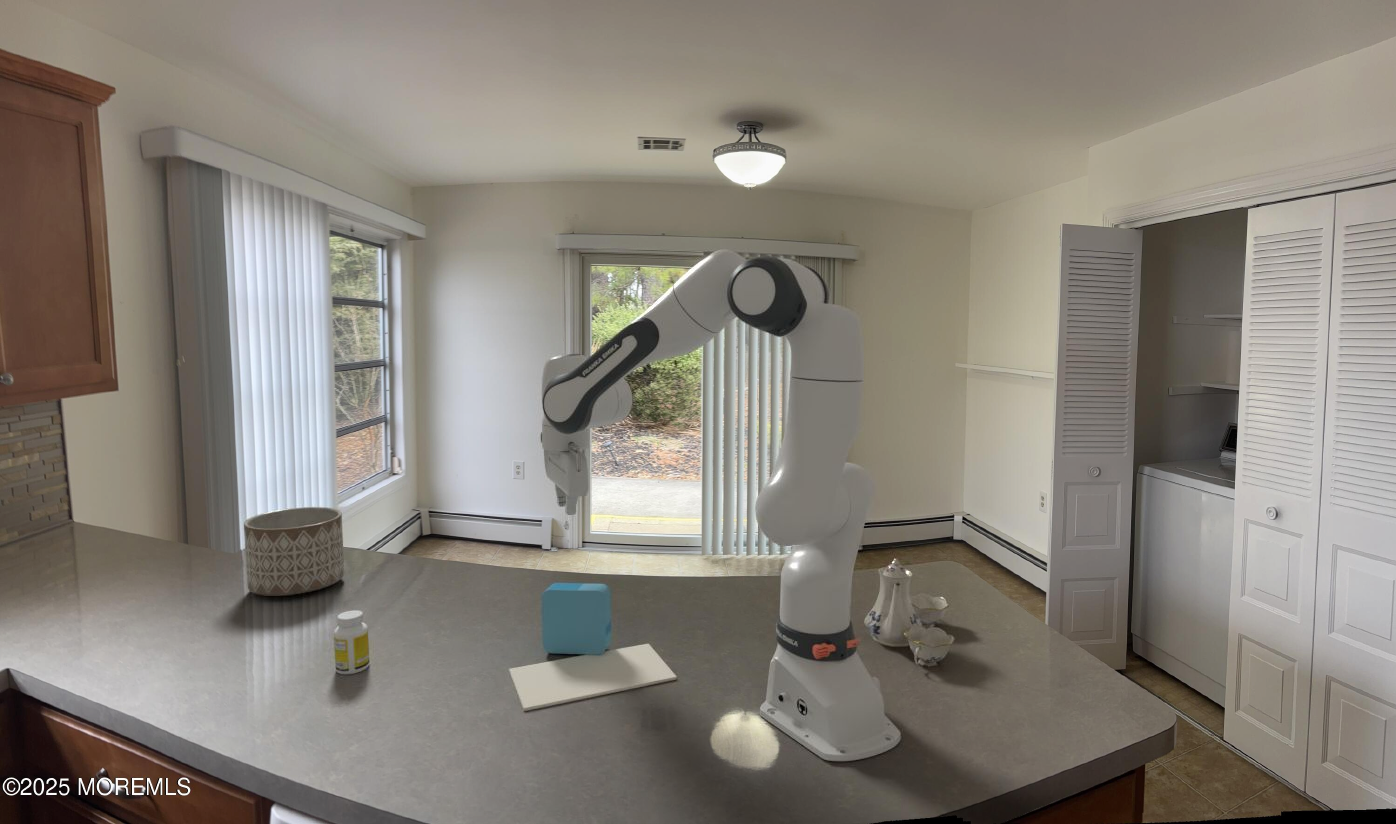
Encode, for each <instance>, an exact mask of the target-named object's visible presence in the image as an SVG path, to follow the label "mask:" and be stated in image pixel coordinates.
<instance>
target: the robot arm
mask: <svg viewBox="0 0 1396 824" xmlns="http://www.w3.org/2000/svg"><path fill="white" fill-rule="evenodd" d="M829 300H830V295H829V289H828V286H827V283H826V281H825V280H824V278H823V277H822V275H820V274H819V273H818V272H817V271H816V270H815V269H813V268H811V267H810V266H806V265H803V264H800V263H798V262H797V261H795V260H792V259H788V258H782V257H774V256H772V255H771V256H770V255H762V256H756V257H752V258H750V259H748V260H746V259H745V258H744V257H743V256H742V255H740V254H739V253H737V252H735V251H734V250H733V251H732V250H730V249H719V250H716V251H713V252H712V253H711V254H709V255H707V256H706V257H704V258H703V259H701V260H700V261H698V262H697V263H696V264H694V265H693V266H692V267H691V268H690V269H689V270H687V271H686V272H685V273H684V274H683V275H682V276H681V277H680V278H679V279H678V280H676V281H675V283H674V284H672V286H670V287H669V288H668V290H666V291H665V292H664V293H663V294H662V295H661V296H660V297H659V298H658V299H657V300H656V301H655V302H654V303H652V305H650V306H649V307H648V308H647V309H645V311H644V312H642V313H641V314H640V315H638V317H636V318H634V319H633V320H632V321H631V322H630V323H629V324H628V325H626V326H625V327H623V329H620V331H618V332H617V333H616V334H614V335H613V336H612V337H611V338H610V339H609V340H608V341H606V342H605V343H604V344H603V345H602V346H601V347H600V348H598V349H597V350H596V351H595V352H594V353H593V354H592V355H590V356H588V357H587V356H585V355H584V354H581V353H567V354H559V355H554V356H552V357H550V358H548V359H547V360H546V361H545V363H544V366H543V370H542V376H541V377H542V378H541V403H542V404H541V405H542V411H543V417H542V420H541V432H540V438H539V439H540V443H541V444H542V446H541V447H542V449H543V458H544V469H545V473H546V477H547V478H548V480H550V481H551V482H552V483H553V484H554V490H555V495H556V505H558V507H561V508H563V507H564V513H565V514H566V515H568V516H573V515H576V514H577V504H578V500H579V497H580V498H581V497H586V496H587V495H588V493H589V472H588V471H589V467H588V460H587V456H586V455H585V454H584V453H583V451H584V450H587V449H589V448H590V429H593V428H600V427H604V426H609V425H614V424H617V423H621V422H623V421H624V420H626V419H627V417H629V415H630V414H631V412H632V409H633V406H634V405H633V404H634V393H633V390H632V387H631V386H630V383H629V382H628V380H626V377H627V376H628V375H630V374H631V373H633V372H634V371H635V370H637V369H639V368H642V367H644V366H645V365H648V364H652V363H655V362H658V361H663V360H667V359H672V358H676V357H683V356H685V355H689V354H692V353H693V352H694V351H697V350H699V349H700V348H702V347H703V346H705V345H707V344H708V343H709V342H710V341H712V340H713V339H714V338H715V337H716V336H717V335H718V334H720V332H722V331H723V330H724V329H725V328H726V327H727V326H728V325H729V324H730V323H731V322H732V321H733V320H735V319H736V318H738V319H739V321H742V322H743V323H745V324H746V325H748V326H750V327H751V328H754V329H757V330H759V331H762V332H765V333H767V334H769V335H772V336H775V337H778V338H779V337H780V338H781V337H785V338H786V340H787V341H788V343H789V347H790V359H791V360H790V372H789V373H790V374H789V387H788V388H789V390H788V400H787V401H788V403H787V404H788V405H787V414H786V415H787V416H786V424H785V430H784V435H783V438H782V442H781V445H780V449H779V451H778V455H777V459H776V461H775V464H774V467H773V470H772V472H771V475H770V476H769V479H768V481H767V482H766V484H765V485H764V487H763V488H761V490H760V492H759V493H758V496H757V497H756V500H755V507H754V512H755V513H754V515H755V519H756V522H757V525H758V527H759V529H760V531H761V532H762V534H763V535H764V536H765V537H766V538H767V539H768V540H769V541H771V542H772V543H774V544H775V545H779V546H782V547H792V548H791V550H790V553H789V555H788V556H787V558H786V560H785V562H784V564H783V566H782V568H781V573H780V594H779V595H780V598H779V599H780V600H779V601H780V602H779V613H778V616H777V617H776V618H777V619H776V624H775V631H776V634H775V635H776V641H777V646H776V649H775V652H774V653H773V657H772V658H771V660H770V663H769V671H768V679H767V685H766V687H767V689H766V697H765V701H764V702H763V703H762V704H761V705H760V708H759V716H760V717H762V718H763V719H765V720H766V721H768V722H769V723H770V724H772V725H773V726H775V727H776V728H778V729H779V730H780V731H782V732H783V733H784V734H786V735H787V736H788V737H790V738H792V739H793V740H794V741H796V742H798V743H799V744H800V745H803V746H804V747H805V748H806V749H808V750H809V751H811V752H812V753H813V754H815V755H816V756H817V757H819V758H821V759H822V760H826V761H829V762H830V761H832V762H851V761H856V760H862V759H863V760H864V759H866V758H867V759H868V758H870V757H874V756H877V755H879V754H882V753H883V754H884V753H885V752H887V751H889V750H892V749H893V748H894V747H896V746H897V745H898V744H899V742H900V741H901V740H902V736H901V735H902V733H901V731H900V729H898V728H897V726H896V725H895V724H894V723H893V722H892V721H891V719H889V718H888V716H886V714H885V702H884V697H883V694H882V693H881V689H882V688H881V687H882V686H881V682H880V680H879V679H878V678H877V677H876V676H871V674H870V672H869V671H868V669H867V668H866V666H865V664H864V662H863V661H862V659H861V658H860V655H859V654H858V651H857V649H858V647H860V646H861V644H859V643H858V642H860V641H861V638H856V636H855V634H856V633H855V630H854V628H853V622H852V621H851V603H852V584H853V583H852V582H853V576H854V569H855V564H856V561H857V555H858V551H859V547H860V545H861V544H860V543H861V541H862V536H863V531H864V527H865V524H866V522H867V518H868V516H869V514H870V511H871V509H872V508H873V506H874V504H875V501H876V496H877V492H876V485H875V483H874V480H873V478H872V476H871V475H870V473H869V472H868V471H867V470H866V469H865V468H864V467H862V466H861V465H859V464H856V463H853V462H848V461H847V458H848V455H849V453H850V449H851V447H852V445H853V444H854V441H855V440H856V438H857V437H858V434H859V433H860V432H859V431H860V428H861V417H862V416H861V415H862V403H863V402H862V401H863V386H864V374H865V373H864V371H865V353H864V352H865V351H864V338H863V336H864V335H863V331H862V330H863V329H862V323H861V320H860V317H859V316H858V315H857V314H856V313H855V312H854V311H853V310H851V309H849V308H848V307H845V306H843V305H839V304H834V303H833V304H832V303H829Z"/></svg>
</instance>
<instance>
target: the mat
mask: <svg viewBox="0 0 1396 824" xmlns="http://www.w3.org/2000/svg"><path fill="white" fill-rule="evenodd" d="M508 672H509V675H510V677H511V681H512V683H513V685H514V688H515V690H516V691H515V692H516V693H517V696H518V699H519V702H520V704H521V707H522V709H523V712H526V711H531V710H537V709H543V708H546V707H549V706H550V707H551V706H556V705H560V704H566V703H570V702H574V701H579V700H584V699H589V698H594V697H598V696H605V695H609V694H613V693H617V692H622V691H628V690H633V689H637V688H641V687H646V686H651V685H655V684H663V683H665V682H670V681H674V680H677V678H678V676H677V675H676V674H675V673H674V672H673V671H672V669H671V668H670V667H669V666H668V665H667V663H666V662H665V661H664V660H663V659H662V657H661V656H660V655H659V654H658V653H657V651H655V649H653V647H652V645H651V644H649V643H645V644H638V645H633V646H626V647H621V648H616V649H610V650H605V651H604V653H602V654H600V655H586V654H581V655H578V656H577V655H576V656H571V657H567V658H560V659H556V660H550V661H546V662H545V661H544V662H539V663H535V664H528V665H524V666H523V665H522V666H517V667H516V666H515V667H511V668H508Z"/></svg>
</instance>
